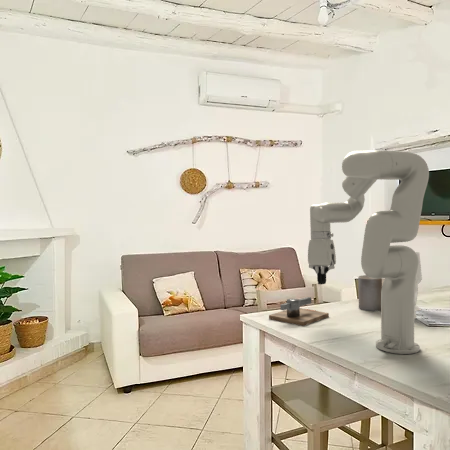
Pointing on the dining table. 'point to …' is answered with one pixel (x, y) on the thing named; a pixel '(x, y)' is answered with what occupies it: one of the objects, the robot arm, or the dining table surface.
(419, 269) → the champagne flute
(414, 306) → the beer glass
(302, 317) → the dial stand
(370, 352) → the dining table surface
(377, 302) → the pillar candle
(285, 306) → the capstan
